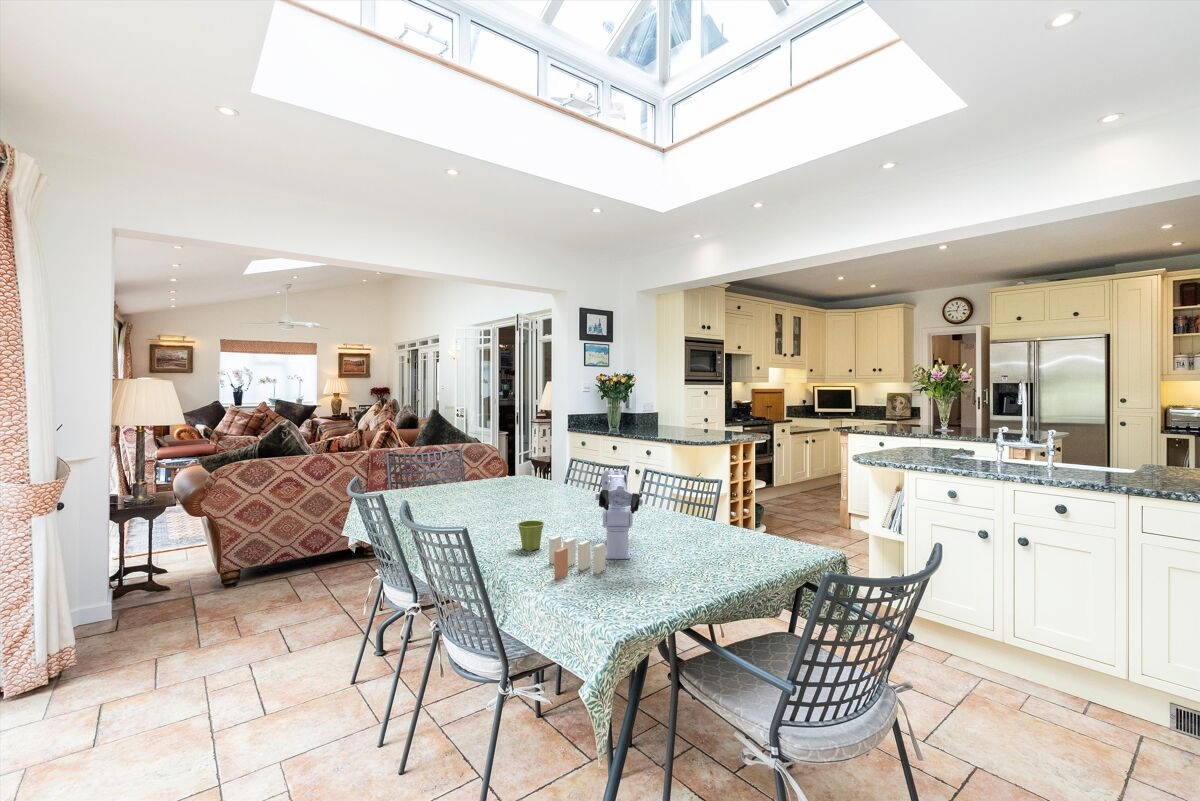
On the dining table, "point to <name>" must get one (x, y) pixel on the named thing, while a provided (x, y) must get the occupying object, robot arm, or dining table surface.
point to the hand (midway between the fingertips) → (620, 508)
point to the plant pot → (530, 534)
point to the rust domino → (561, 562)
